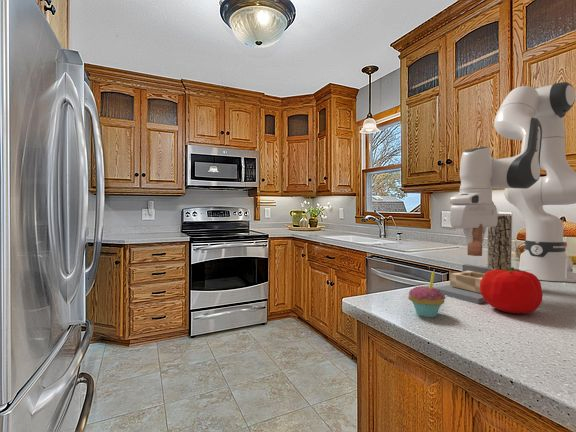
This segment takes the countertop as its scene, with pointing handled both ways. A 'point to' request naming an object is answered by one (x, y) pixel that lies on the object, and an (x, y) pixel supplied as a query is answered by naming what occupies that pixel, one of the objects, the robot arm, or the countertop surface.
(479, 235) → the dowel
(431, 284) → the cupcake
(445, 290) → the slate track
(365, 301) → the countertop surface
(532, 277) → the tomato
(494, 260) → the wooden log
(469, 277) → the square wooden frame
